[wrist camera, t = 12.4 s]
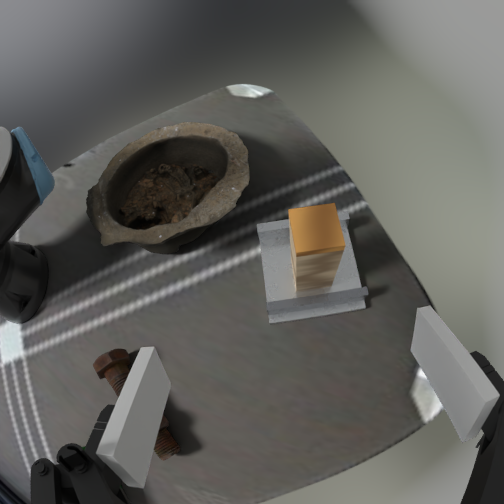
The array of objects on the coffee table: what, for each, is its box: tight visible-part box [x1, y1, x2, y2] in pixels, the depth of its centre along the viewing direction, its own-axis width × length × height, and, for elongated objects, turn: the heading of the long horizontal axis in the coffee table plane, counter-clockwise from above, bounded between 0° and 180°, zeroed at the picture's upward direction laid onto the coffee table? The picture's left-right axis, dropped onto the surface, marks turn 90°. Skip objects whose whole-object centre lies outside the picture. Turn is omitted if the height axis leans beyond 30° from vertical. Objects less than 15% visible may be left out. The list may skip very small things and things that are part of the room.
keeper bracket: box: [257, 211, 369, 325], centre depth 38 cm, size 12×13×4 cm
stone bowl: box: [86, 122, 249, 254], centre depth 44 cm, size 25×25×9 cm
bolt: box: [93, 349, 181, 460], centre depth 33 cm, size 6×5×15 cm
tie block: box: [288, 203, 346, 292], centre depth 33 cm, size 4×4×12 cm
